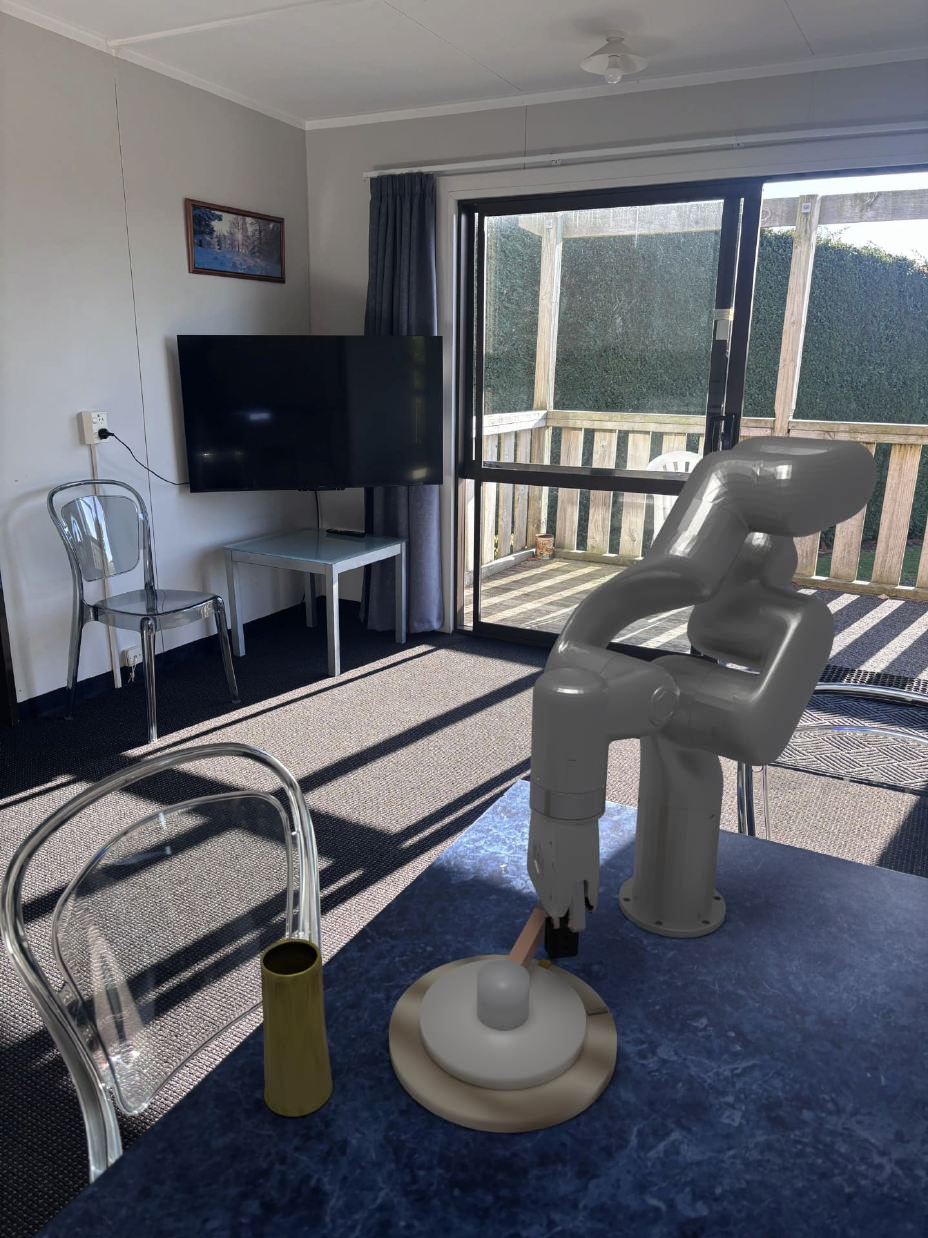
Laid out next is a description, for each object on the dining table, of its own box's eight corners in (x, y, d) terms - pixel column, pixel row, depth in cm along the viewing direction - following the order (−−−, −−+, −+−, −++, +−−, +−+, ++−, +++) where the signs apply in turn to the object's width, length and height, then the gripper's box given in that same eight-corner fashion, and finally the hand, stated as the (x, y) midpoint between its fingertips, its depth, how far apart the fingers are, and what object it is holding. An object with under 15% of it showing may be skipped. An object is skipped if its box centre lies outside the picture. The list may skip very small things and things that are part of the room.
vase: (318, 1124, 78) (311, 984, 74) (252, 1112, 79) (241, 974, 75) (341, 1071, 84) (335, 939, 80) (280, 1061, 85) (271, 931, 81)
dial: (559, 1111, 77) (561, 1058, 76) (391, 1059, 83) (390, 1009, 82) (617, 956, 97) (619, 912, 96) (479, 923, 103) (479, 880, 102)
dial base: (456, 944, 102) (456, 929, 102) (645, 1007, 92) (646, 992, 92) (343, 1075, 83) (342, 1058, 83) (565, 1172, 74) (565, 1154, 73)
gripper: (512, 764, 95) (508, 915, 100) (553, 834, 81) (546, 1006, 86) (580, 759, 97) (573, 908, 102) (631, 827, 83) (620, 996, 88)
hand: (560, 953), depth 94 cm, fingers closed
